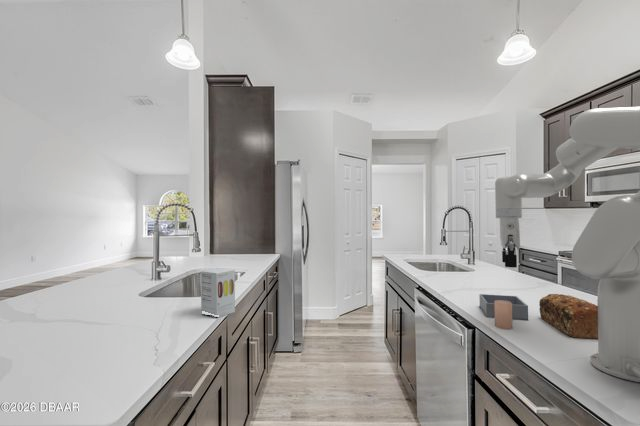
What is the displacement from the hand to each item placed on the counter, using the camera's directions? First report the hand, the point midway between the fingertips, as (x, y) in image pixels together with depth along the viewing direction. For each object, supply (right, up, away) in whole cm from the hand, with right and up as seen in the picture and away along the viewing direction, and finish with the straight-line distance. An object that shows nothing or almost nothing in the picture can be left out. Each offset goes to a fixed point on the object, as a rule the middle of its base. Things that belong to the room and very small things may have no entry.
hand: (509, 264), depth 105 cm
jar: (-3, -20, -2) cm, 20 cm away
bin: (+4, -20, +11) cm, 23 cm away
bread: (+17, -20, -4) cm, 27 cm away
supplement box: (-103, -22, +17) cm, 107 cm away
